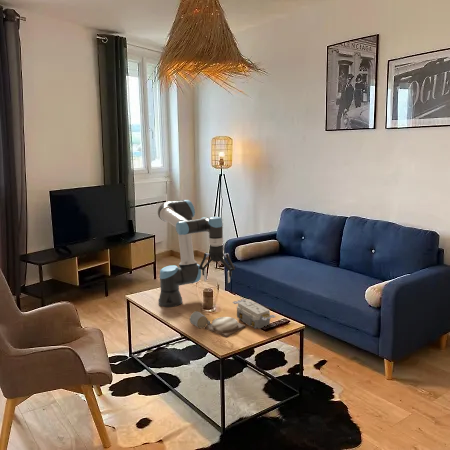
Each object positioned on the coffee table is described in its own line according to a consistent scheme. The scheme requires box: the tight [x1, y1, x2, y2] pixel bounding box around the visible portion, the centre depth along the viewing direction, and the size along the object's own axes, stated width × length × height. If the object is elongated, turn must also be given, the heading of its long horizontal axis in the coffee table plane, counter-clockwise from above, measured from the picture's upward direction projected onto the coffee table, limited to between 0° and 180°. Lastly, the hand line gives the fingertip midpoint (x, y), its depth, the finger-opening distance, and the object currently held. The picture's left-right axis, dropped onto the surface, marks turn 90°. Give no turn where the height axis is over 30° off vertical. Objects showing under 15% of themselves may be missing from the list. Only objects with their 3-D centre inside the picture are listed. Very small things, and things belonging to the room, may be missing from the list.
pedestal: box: [203, 316, 246, 338], centre depth 248 cm, size 16×16×4 cm
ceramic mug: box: [189, 310, 211, 329], centre depth 252 cm, size 11×8×8 cm
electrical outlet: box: [232, 298, 276, 330], centre depth 255 cm, size 12×28×10 cm, turn 36°
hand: (217, 281), depth 254 cm, fingers open, 13 cm apart
